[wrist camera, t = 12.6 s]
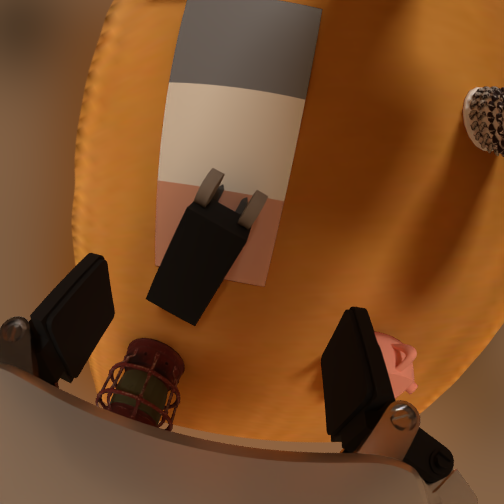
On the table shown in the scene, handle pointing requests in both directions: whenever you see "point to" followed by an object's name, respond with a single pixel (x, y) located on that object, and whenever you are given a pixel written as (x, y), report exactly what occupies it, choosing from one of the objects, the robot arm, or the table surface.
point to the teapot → (398, 363)
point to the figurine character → (203, 250)
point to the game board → (235, 115)
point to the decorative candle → (485, 118)
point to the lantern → (145, 383)
